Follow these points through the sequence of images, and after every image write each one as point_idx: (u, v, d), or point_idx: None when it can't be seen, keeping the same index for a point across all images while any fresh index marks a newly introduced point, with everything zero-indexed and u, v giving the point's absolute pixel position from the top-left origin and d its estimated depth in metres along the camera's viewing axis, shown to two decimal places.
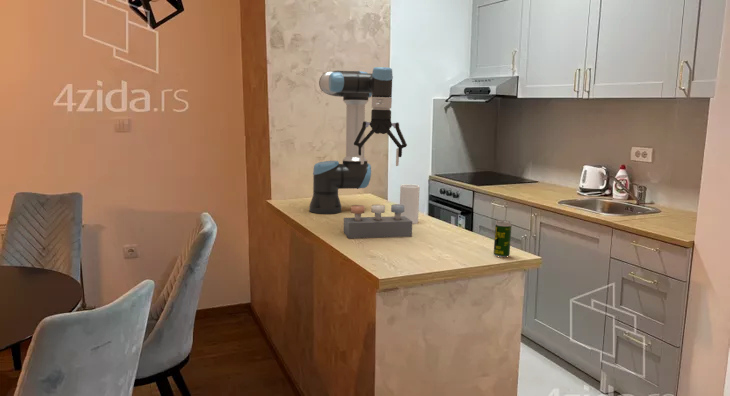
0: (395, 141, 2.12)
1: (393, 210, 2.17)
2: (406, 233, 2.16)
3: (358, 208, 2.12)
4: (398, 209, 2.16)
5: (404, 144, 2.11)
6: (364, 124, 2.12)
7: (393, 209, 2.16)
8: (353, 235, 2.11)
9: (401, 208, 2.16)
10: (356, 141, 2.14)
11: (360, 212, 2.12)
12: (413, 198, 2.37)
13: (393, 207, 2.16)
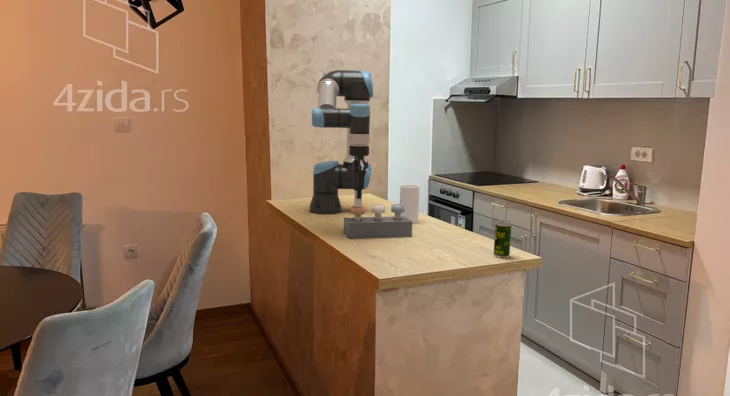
0: (356, 181, 2.11)
1: (393, 210, 2.17)
2: (406, 233, 2.16)
3: (358, 209, 2.12)
4: (398, 209, 2.16)
5: (357, 186, 2.09)
6: (352, 164, 2.16)
7: (393, 209, 2.16)
8: (353, 235, 2.11)
9: (401, 208, 2.16)
10: (353, 182, 2.16)
11: (360, 213, 2.12)
12: (413, 198, 2.37)
13: (393, 207, 2.16)
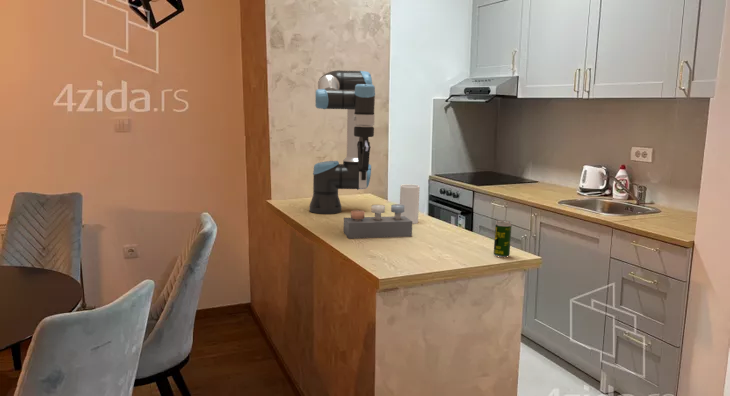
0: (360, 162, 2.10)
1: (393, 210, 2.17)
2: (406, 233, 2.16)
3: (358, 213, 2.12)
4: (398, 209, 2.16)
5: (361, 167, 2.09)
6: (357, 146, 2.16)
7: (393, 209, 2.16)
8: (353, 235, 2.11)
9: (401, 208, 2.16)
10: (358, 164, 2.15)
11: (360, 217, 2.13)
12: (413, 198, 2.37)
13: (393, 207, 2.16)
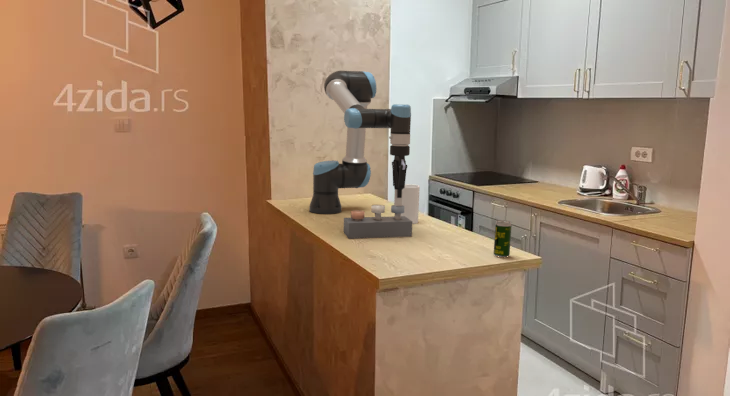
0: (396, 180, 2.15)
1: (393, 211, 2.17)
2: (406, 233, 2.16)
3: (358, 213, 2.12)
4: (398, 209, 2.16)
5: (398, 185, 2.13)
6: (392, 164, 2.20)
7: (393, 210, 2.17)
8: (353, 235, 2.11)
9: (401, 209, 2.16)
10: (393, 182, 2.19)
11: (360, 217, 2.13)
12: (413, 198, 2.37)
13: (393, 208, 2.16)
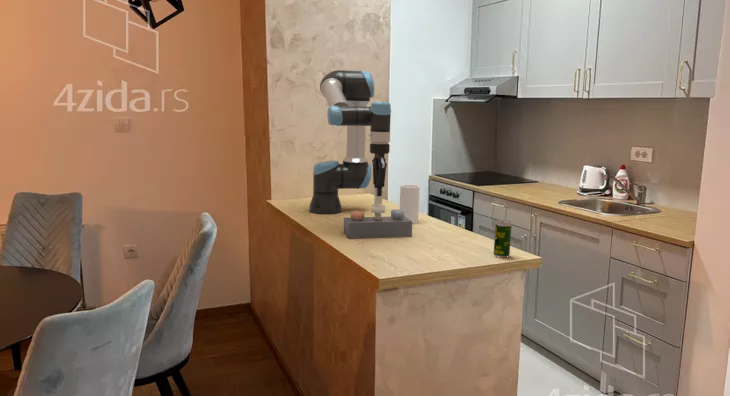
0: (376, 179, 2.13)
1: (393, 215, 2.17)
2: (406, 233, 2.16)
3: (358, 213, 2.12)
4: (398, 214, 2.16)
5: (377, 184, 2.11)
6: (372, 162, 2.18)
7: (393, 214, 2.17)
8: (353, 235, 2.11)
9: (401, 213, 2.16)
10: (373, 180, 2.17)
11: (360, 217, 2.13)
12: (413, 198, 2.37)
13: (393, 212, 2.17)
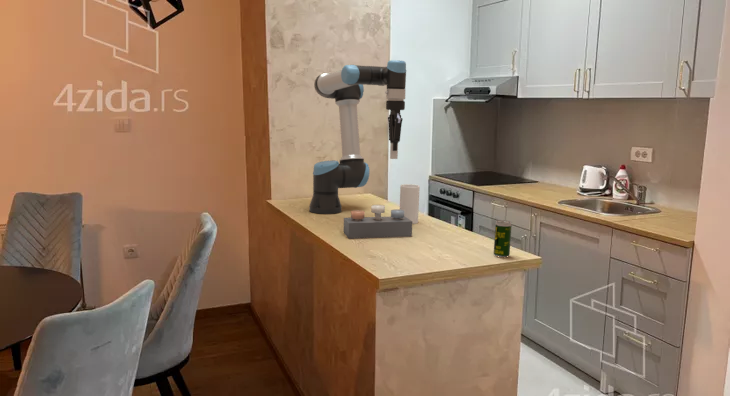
0: (392, 134, 2.25)
1: (393, 215, 2.17)
2: (406, 233, 2.16)
3: (358, 213, 2.12)
4: (398, 214, 2.16)
5: (393, 139, 2.23)
6: (388, 119, 2.30)
7: (393, 214, 2.17)
8: (353, 235, 2.11)
9: (401, 213, 2.16)
10: (389, 136, 2.29)
11: (360, 217, 2.13)
12: (413, 198, 2.37)
13: (393, 212, 2.17)
